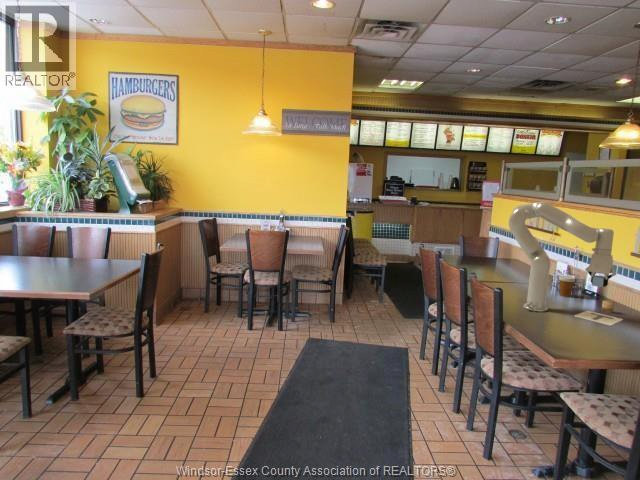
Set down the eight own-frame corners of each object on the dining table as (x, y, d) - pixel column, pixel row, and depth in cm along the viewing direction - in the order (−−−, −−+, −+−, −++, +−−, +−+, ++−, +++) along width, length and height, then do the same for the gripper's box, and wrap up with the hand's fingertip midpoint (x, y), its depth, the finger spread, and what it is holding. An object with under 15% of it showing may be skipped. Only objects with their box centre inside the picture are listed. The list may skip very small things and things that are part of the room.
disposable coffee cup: (567, 298, 280) (569, 279, 278) (553, 294, 289) (555, 276, 287) (576, 296, 285) (579, 278, 283) (562, 292, 293) (565, 274, 291)
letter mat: (610, 326, 228) (610, 325, 228) (573, 316, 242) (573, 315, 242) (623, 320, 239) (623, 319, 239) (587, 311, 253) (587, 310, 253)
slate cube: (602, 287, 238) (603, 278, 238) (591, 285, 242) (593, 276, 241) (605, 286, 241) (606, 277, 241) (595, 284, 245) (596, 275, 244)
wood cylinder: (610, 314, 250) (612, 303, 249) (599, 311, 254) (601, 301, 253) (614, 312, 253) (616, 302, 252) (603, 310, 257) (605, 299, 256)
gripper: (582, 250, 243) (579, 283, 246) (618, 255, 230) (614, 289, 233) (588, 248, 248) (584, 281, 250) (623, 253, 235) (619, 287, 238)
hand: (598, 284), depth 242 cm, fingers closed on slate cube, 5 cm apart
